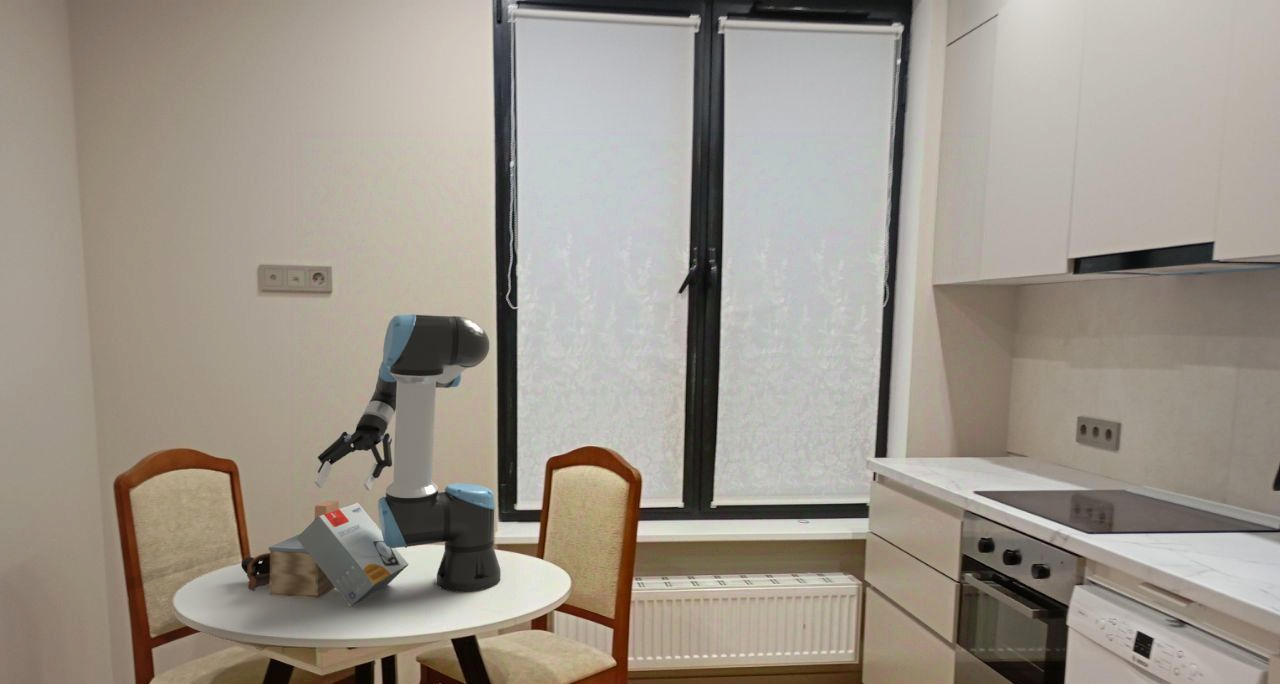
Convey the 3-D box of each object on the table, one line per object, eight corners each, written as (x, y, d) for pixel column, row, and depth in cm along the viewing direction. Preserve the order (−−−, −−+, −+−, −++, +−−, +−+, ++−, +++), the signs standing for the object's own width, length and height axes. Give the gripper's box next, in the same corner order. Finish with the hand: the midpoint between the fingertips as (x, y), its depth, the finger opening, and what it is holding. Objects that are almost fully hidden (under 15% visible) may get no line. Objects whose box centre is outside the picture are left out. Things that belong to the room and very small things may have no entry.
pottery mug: (298, 579, 163) (296, 555, 159) (270, 609, 155) (267, 584, 151) (255, 564, 164) (252, 540, 161) (225, 593, 156) (221, 568, 152)
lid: (355, 535, 164) (356, 502, 164) (319, 553, 149) (320, 516, 149) (309, 533, 165) (309, 500, 165) (268, 550, 151) (269, 514, 151)
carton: (353, 577, 163) (353, 536, 163) (317, 598, 149) (318, 554, 149) (308, 574, 165) (309, 534, 165) (269, 595, 151) (270, 551, 151)
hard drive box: (374, 585, 143) (317, 516, 145) (351, 608, 144) (294, 539, 146) (410, 563, 158) (357, 501, 161) (388, 584, 159) (336, 522, 161)
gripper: (421, 431, 185) (392, 496, 170) (339, 428, 189) (304, 492, 174) (412, 414, 180) (381, 480, 165) (328, 411, 184) (291, 475, 169)
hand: (342, 486), depth 170 cm, fingers open, 13 cm apart
